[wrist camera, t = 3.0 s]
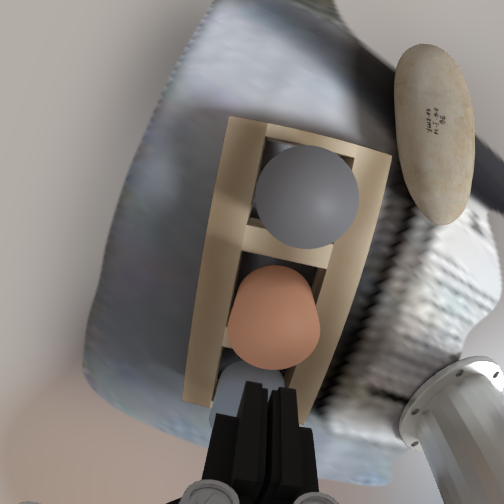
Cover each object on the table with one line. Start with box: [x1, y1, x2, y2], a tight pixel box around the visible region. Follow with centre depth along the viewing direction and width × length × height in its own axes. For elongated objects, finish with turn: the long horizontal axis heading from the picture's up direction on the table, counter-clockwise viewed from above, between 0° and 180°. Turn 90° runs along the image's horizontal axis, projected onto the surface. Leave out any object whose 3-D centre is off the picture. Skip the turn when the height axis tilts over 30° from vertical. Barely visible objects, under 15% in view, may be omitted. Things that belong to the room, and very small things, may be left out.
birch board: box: [182, 116, 392, 425], centre depth 22 cm, size 10×21×3 cm, turn 168°
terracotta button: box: [227, 265, 320, 370], centre depth 18 cm, size 5×5×4 cm
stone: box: [394, 44, 475, 225], centre depth 17 cm, size 6×6×12 cm
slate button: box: [209, 360, 285, 429], centre depth 20 cm, size 5×5×4 cm
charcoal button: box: [255, 145, 359, 249], centre depth 16 cm, size 5×5×4 cm
